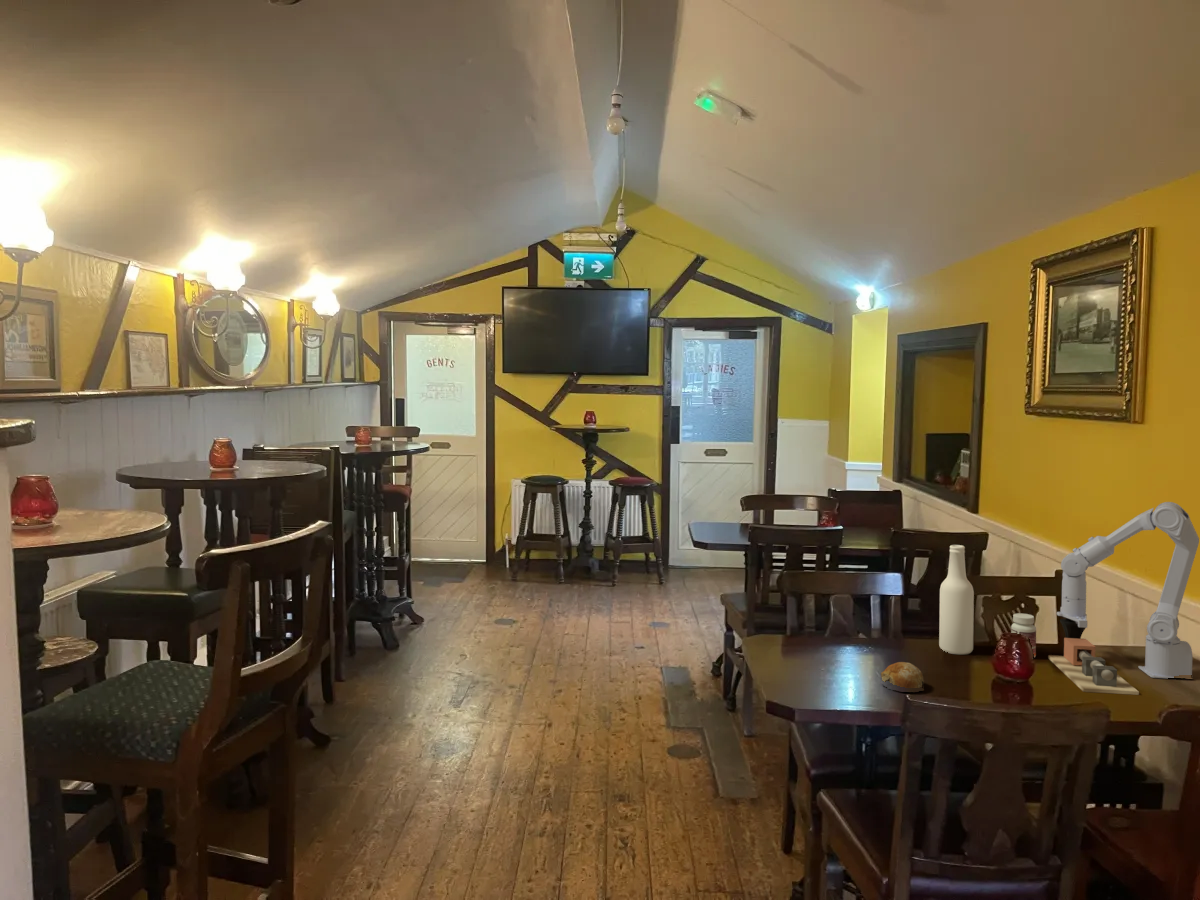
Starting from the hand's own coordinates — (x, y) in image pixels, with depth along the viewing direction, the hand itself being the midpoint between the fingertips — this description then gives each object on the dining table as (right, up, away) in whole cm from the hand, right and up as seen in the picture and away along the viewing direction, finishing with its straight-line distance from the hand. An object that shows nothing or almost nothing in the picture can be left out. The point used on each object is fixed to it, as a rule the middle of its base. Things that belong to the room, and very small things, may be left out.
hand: (1072, 646), depth 218 cm
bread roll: (-54, -6, -18) cm, 57 cm away
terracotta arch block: (-1, -3, -5) cm, 5 cm away
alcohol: (-28, -4, +10) cm, 29 cm away
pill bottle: (-11, -4, +4) cm, 13 cm away
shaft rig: (-3, -4, -12) cm, 13 cm away
